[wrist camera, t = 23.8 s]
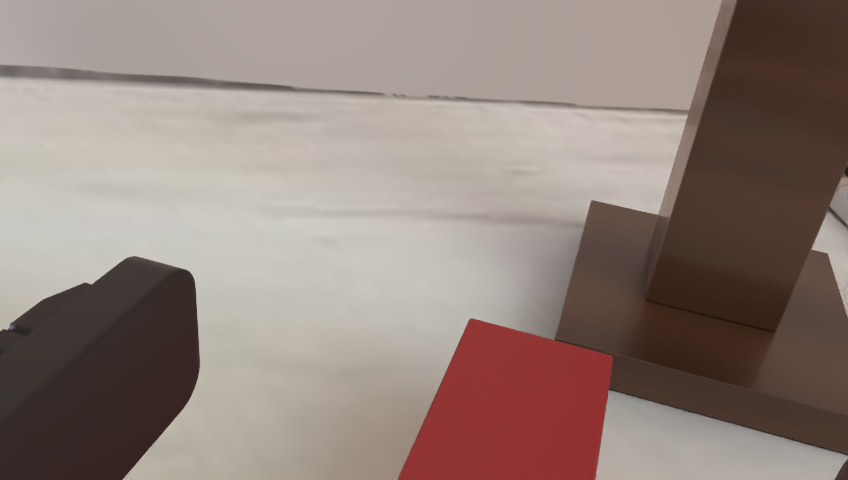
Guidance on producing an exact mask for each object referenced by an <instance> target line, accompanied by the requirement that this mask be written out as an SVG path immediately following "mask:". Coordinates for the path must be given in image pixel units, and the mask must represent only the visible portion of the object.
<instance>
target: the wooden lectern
mask: <svg viewBox="0 0 848 480" xmlns="http://www.w3.org/2000/svg"><path fill="white" fill-rule="evenodd" d="M847 164H848V0H722V3H721V6H720V10H719V13H718V16H717V19H716V23H715V26H714V30H713V33H712V37H711V40H710V43H709V46H708V50H707V53H706V57H705V60H704V63H703V67H702V70H701V73H700V77H699V80H698V84H697V87H696V90H695V94H694V97H693V100H692V104H691V107H690V111H689V114H688V117H687V121H686V124H685V127H684V131H683V134H682V138H681V141H680V144H679V148H678V151H677V154H676V158H675V161H674V164H673V168H672V171H671V175H670V178H669V181H668V185H667V188H666V191H665V195H664V198H663V202H662V205H661V208H660V212H659V215H655V214H650V213H646V212H642V211H637V210H633V209H628V208H624V207H619V206H615V205H611V204H606V203H602V202H597V201H593V200H592V201H591V203H590V207H589V211H588V215H587V218H586V222H585V226H584V230H583V234H582V237H581V241H580V245H579V249H578V253H577V256H576V260H575V264H574V268H573V272H572V275H571V279H570V283H569V287H568V291H567V294H566V298H565V302H564V306H563V310H562V314H561V317H560V321H559V325H558V329H557V333H556V336H555V341H558V342H562V343H566V344H570V345H573V346H577V347H581V348H585V349H588V350H592V351H596V352H600V353H603V354H607V355H611V356H612V357H613V363H612V369H611V376H610V383H609V389H612V390H615V391H619V392H623V393H626V394H630V395H634V396H637V397H641V398H645V399H648V400H652V401H655V402H659V403H663V404H666V405H670V406H674V407H677V408H681V409H685V410H688V411H692V412H696V413H699V414H703V415H706V416H710V417H714V418H717V419H721V420H725V421H728V422H732V423H736V424H739V425H743V426H747V427H750V428H754V429H757V430H761V431H765V432H768V433H772V434H776V435H779V436H783V437H787V438H790V439H794V440H797V441H801V442H805V443H808V444H812V445H816V446H819V447H823V448H827V449H830V450H834V451H838V452H841V453H845V454H848V317H847V314H846V311H845V308H844V305H843V301H842V298H841V295H840V292H839V289H838V286H837V282H836V279H835V276H834V273H833V270H832V266H831V263H830V260H829V257H828V254H827V253H823V252H819V251H815V250H811V249H812V246H813V244H814V242H815V239H816V237H817V235H818V232H819V230H820V227H821V225H822V223H823V220H824V218H825V216H826V213H827V211H828V209H829V206H830V204H831V201H832V199H833V197H834V194H835V192H836V190H837V187H838V185H839V183H840V180H841V178H842V176H843V173H844V171H845V168H846V166H847Z"/></svg>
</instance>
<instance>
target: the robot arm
mask: <svg viewBox="0 0 848 480" xmlns="http://www.w3.org/2000/svg"><path fill="white" fill-rule="evenodd" d="M199 367H200V357H199V340H198V323H197V305H196V288H195V281H194V278H193V276H192V274H191V273H190V272H189V271H187V270H184V269H181V268H177V267H173V266H170V265H166V264H162V263H159V262H155V261H151V260H148V259H144V258H140V257H136V256H133V257H129V258H126V259H125V260H123V261H122V262H120V263H119V264H118V265H117V266H115V267H114V268H113V269H111V270H110V271H109V272H108V273H106V274H105V275H104V276H102V277H101V278H100V279H99V280H97V281H96V282H95V283H93V284H92V285H91V284H88V283H83V284H81V285H78V286H76V287H73V288H71V289H68V290H66V291H63V292H61V293H58V294H56V295H53V296H51V297H49V298H46V299H44V300H42V301H41V302H39V303H38V304H37V305H35V306H34V307H33V308H31V309H30V310H29V311H27V312H26V313H24V314H23V315H22V316H20V317H19V318H18V319H16V320H15V321H14V322H12V323H11V324H10V328H9V329H8V330H5V329H3V330H2V331H0V480H122V479H123V478H124V477H125V476H126V475H127V474H128V472H129V471H130V470H131V469H132V468H133V467H134V465H135V464H136V463H137V462H138V461H139V460H140V458H141V457H142V456H143V455H144V454H145V453H146V451H147V450H148V449H149V448H150V447H151V446H152V444H153V443H154V442H155V441H156V440H157V439H158V437H159V436H160V435H161V434H162V433H163V432H164V430H165V429H166V428H167V427H168V426H169V425H170V424H171V422H172V421H173V420H174V419H175V418H176V417H177V415H178V414H179V413H180V412H181V411H182V409H183V408H184V407H185V405H186V404H187V402H188V401H189V399H190V397H191V395H192V393H193V390H194V388H195V385H196V382H197V378H198V374H199ZM835 480H848V459H847V461H846V462H845V463H844V464H843V466H842V468H841V469H840V471H839V473H838V475H837V477H836V479H835Z"/></svg>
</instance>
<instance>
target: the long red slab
mask: <svg viewBox="0 0 848 480" xmlns="http://www.w3.org/2000/svg"><path fill="white" fill-rule="evenodd" d="M612 363H613V357H612V356H611V355H607V354H603V353H600V352H596V351H592V350H588V349H585V348H581V347H577V346H573V345H570V344H566V343H562V342H558V341H555V340H551V339H547V338H543V337H540V336H536V335H532V334H528V333H525V332H521V331H517V330H513V329H510V328H506V327H502V326H498V325H495V324H491V323H487V322H483V321H480V320H476V319H470V320H469V321H468V324H467V326H466V328H465V330H464V333H463V335H462V337H461V339H460V341H459V344H458V346H457V348H456V350H455V353H454V355H453V357H452V359H451V362H450V364H449V366H448V368H447V370H446V373H445V375H444V377H443V379H442V382H441V384H440V386H439V388H438V391H437V393H436V395H435V397H434V399H433V402H432V404H431V406H430V408H429V411H428V413H427V415H426V417H425V419H424V422H423V424H422V426H421V428H420V431H419V433H418V435H417V437H416V440H415V442H414V444H413V446H412V448H411V451H410V453H409V455H408V457H407V460H406V462H405V464H404V466H403V468H402V471H401V473H400V475H399V477H398V480H595V478H596V471H597V464H598V457H599V450H600V444H601V437H602V430H603V423H604V417H605V410H606V403H607V396H608V390H609V383H610V376H611V369H612Z"/></svg>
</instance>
